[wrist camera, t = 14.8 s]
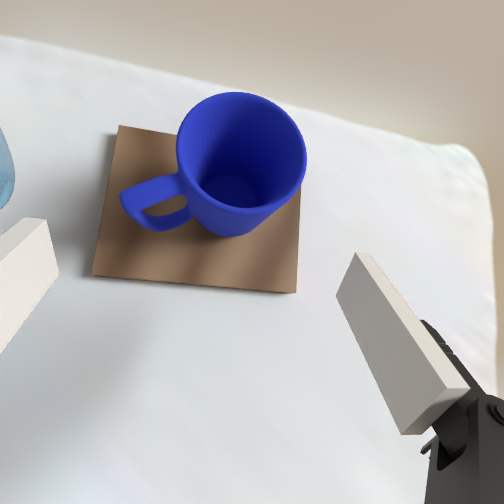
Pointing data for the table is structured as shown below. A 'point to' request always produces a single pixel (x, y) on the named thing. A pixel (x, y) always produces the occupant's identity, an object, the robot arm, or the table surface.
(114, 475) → the table surface
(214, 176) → the mug
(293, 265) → the walnut board
